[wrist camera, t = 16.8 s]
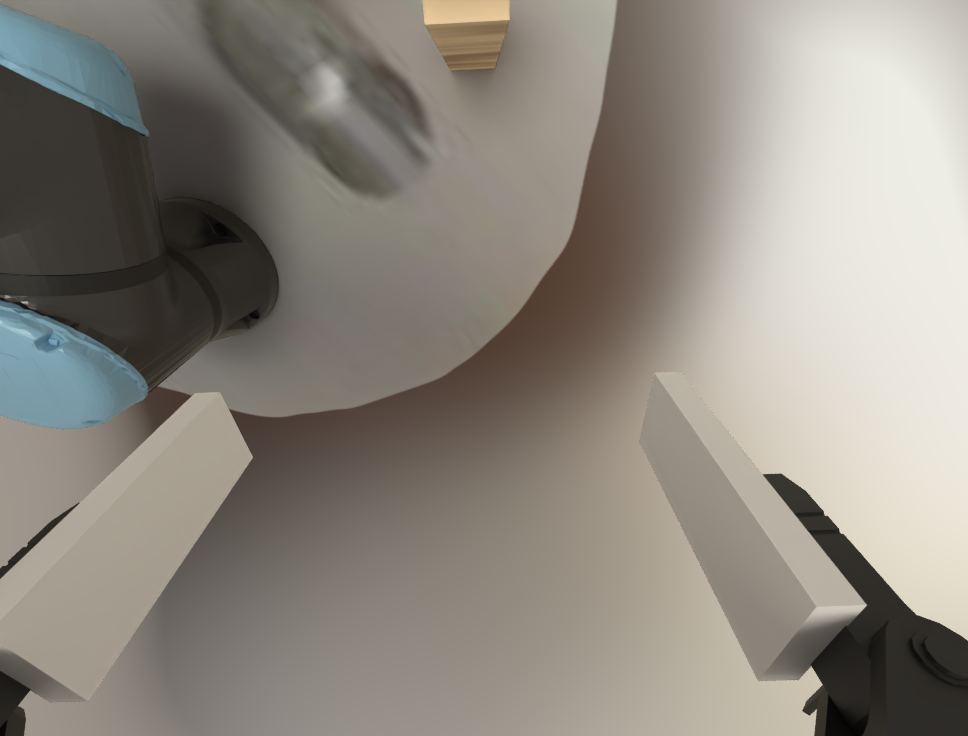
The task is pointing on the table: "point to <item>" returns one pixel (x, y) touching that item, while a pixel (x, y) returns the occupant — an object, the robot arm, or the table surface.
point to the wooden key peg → (467, 31)
